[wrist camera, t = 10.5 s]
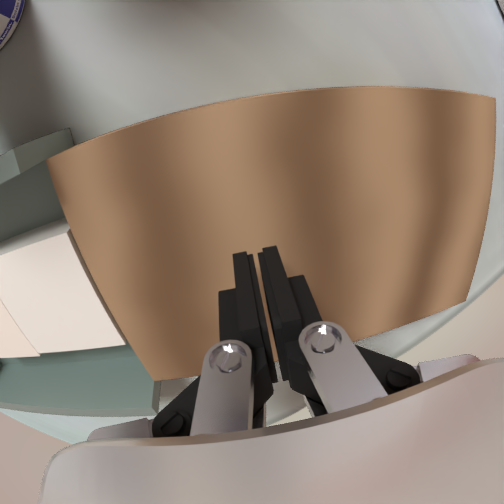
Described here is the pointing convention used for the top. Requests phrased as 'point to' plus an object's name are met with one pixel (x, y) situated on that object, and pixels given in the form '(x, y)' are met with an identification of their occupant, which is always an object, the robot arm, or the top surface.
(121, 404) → the box
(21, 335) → the tile
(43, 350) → the tile
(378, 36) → the top surface
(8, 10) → the energy drink
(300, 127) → the wooden cutting board
